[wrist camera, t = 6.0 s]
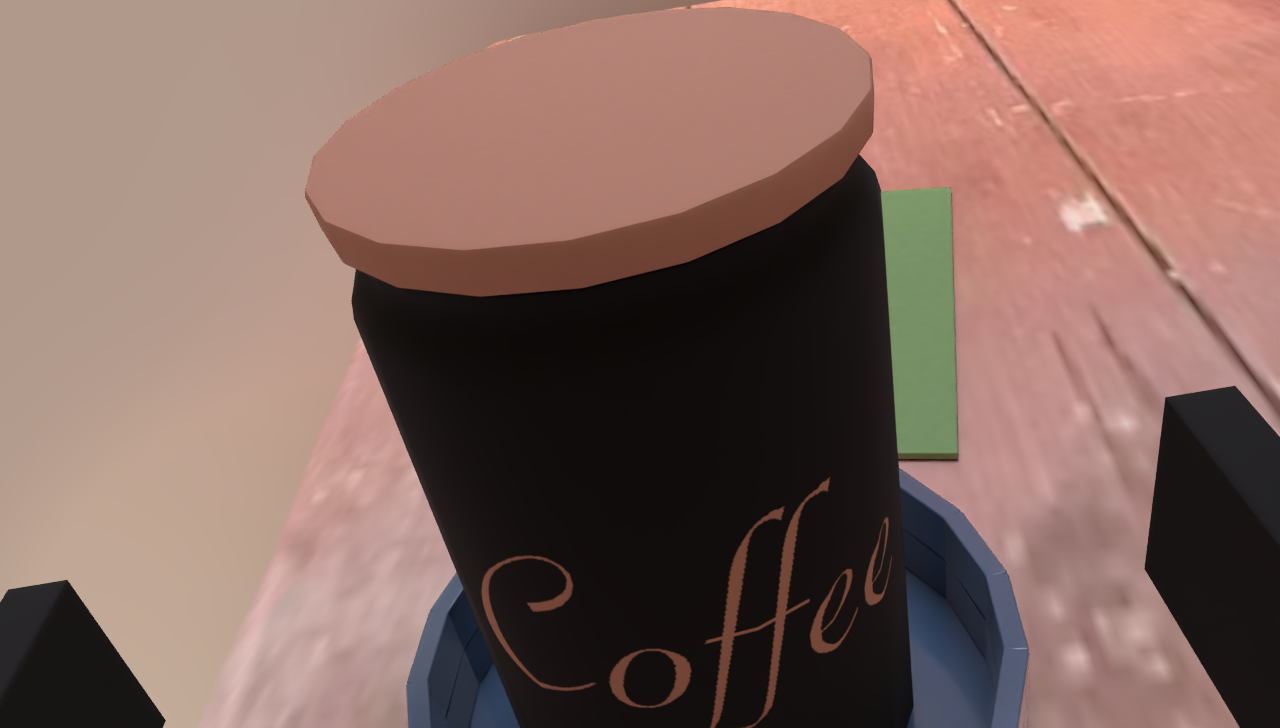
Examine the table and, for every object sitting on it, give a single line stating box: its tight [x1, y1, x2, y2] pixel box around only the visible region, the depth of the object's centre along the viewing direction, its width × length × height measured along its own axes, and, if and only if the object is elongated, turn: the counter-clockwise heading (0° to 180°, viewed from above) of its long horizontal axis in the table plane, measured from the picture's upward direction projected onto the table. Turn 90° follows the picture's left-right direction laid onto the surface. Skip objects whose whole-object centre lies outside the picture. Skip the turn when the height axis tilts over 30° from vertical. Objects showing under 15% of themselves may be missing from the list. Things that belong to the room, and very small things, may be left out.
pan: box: [406, 468, 1029, 728], centre depth 29 cm, size 16×16×4 cm
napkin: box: [881, 187, 958, 459], centre depth 47 cm, size 20×20×1 cm
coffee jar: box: [305, 7, 914, 728], centre depth 25 cm, size 11×11×18 cm
